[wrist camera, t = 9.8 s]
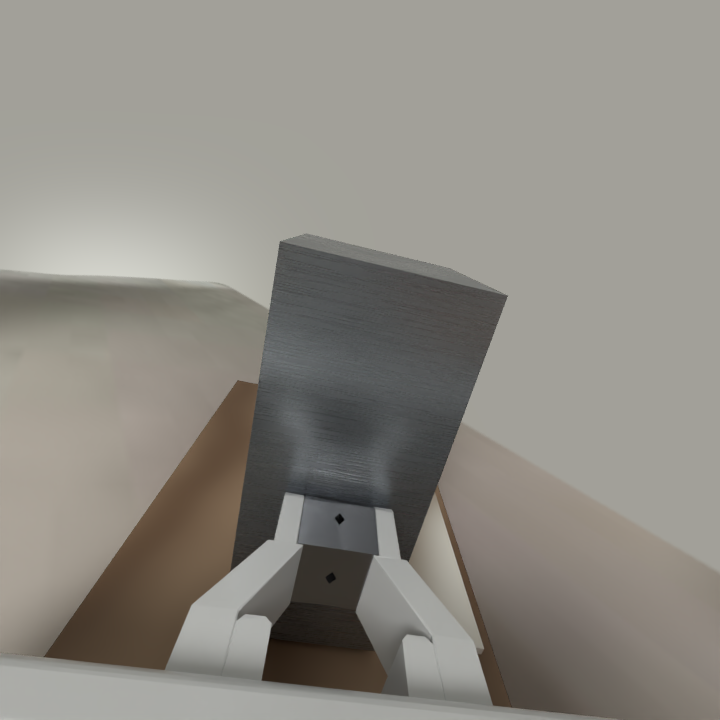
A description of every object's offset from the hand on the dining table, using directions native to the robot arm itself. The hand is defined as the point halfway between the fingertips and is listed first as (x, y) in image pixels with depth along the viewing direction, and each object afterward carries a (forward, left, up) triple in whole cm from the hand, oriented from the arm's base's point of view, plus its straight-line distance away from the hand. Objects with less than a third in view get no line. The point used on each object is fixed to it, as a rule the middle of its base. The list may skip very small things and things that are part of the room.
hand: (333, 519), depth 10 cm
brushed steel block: (0, +5, -5) cm, 7 cm away
